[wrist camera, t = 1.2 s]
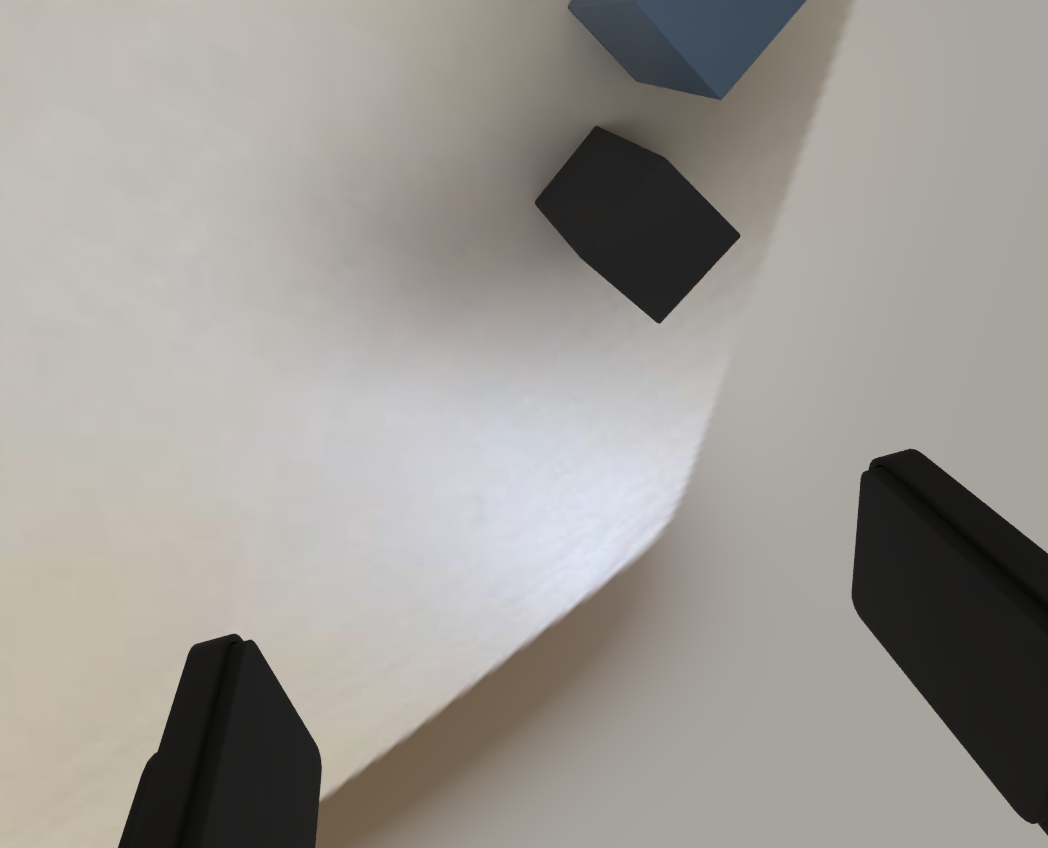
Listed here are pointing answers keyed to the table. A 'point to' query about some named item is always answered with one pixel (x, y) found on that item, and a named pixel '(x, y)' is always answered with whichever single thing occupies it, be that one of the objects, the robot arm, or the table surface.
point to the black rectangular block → (636, 221)
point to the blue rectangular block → (686, 38)
